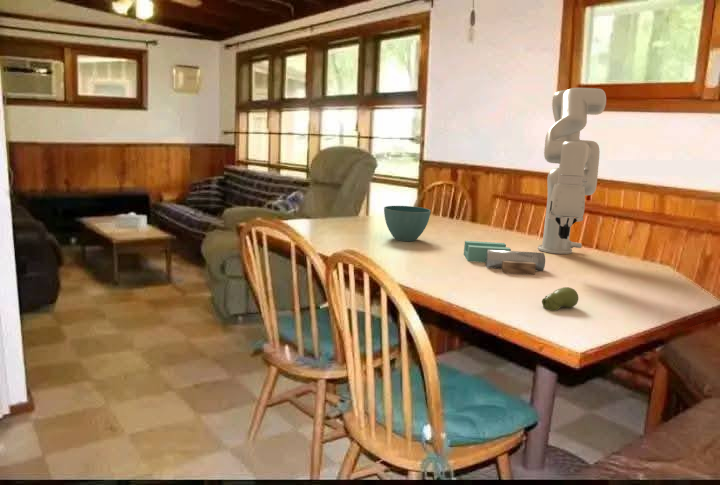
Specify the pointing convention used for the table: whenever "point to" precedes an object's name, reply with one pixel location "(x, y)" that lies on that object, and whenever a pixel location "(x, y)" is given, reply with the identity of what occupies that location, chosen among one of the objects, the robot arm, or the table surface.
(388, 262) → the table surface
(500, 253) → the steel axle
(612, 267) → the table surface
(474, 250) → the teal V-block
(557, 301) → the pear
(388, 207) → the teal bowl
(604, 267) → the table surface
